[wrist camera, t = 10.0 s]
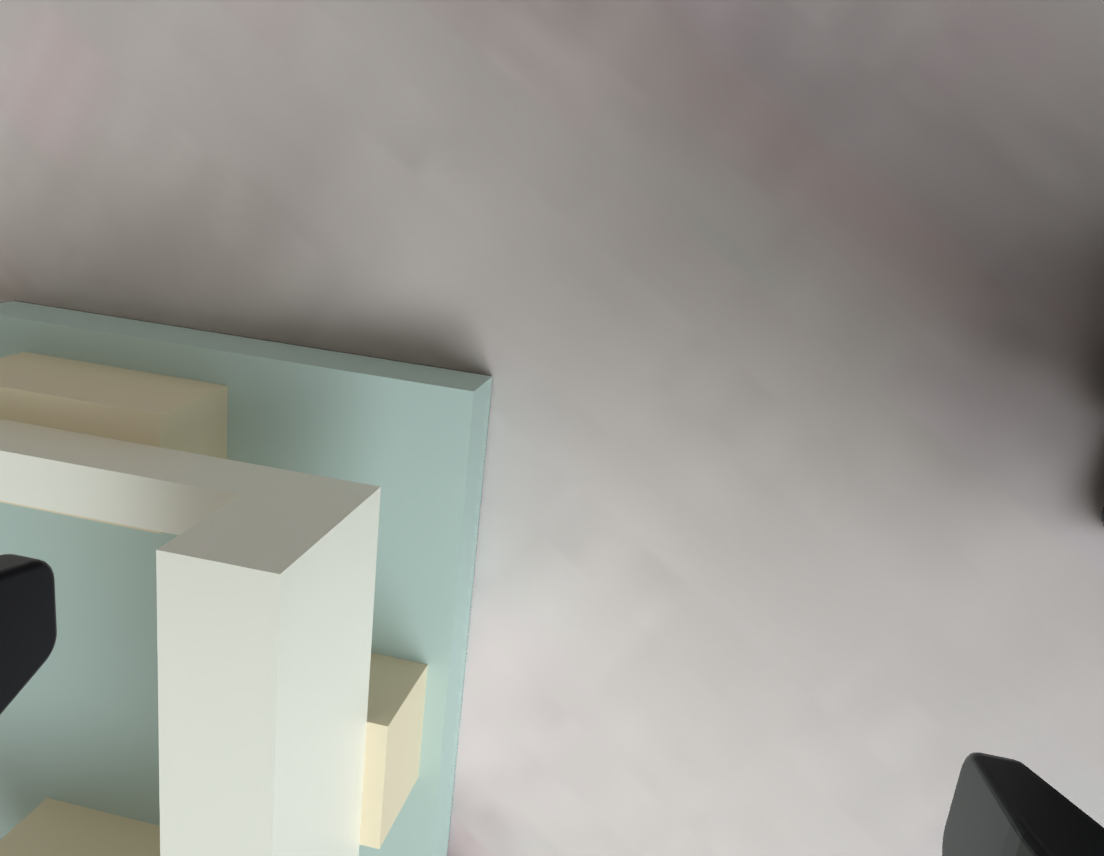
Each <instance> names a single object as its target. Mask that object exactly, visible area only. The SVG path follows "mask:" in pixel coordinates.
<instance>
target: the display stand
mask: <svg viewBox="0 0 1104 856" xmlns="http://www.w3.org/2000/svg"><path fill="white" fill-rule="evenodd" d="M492 378H493V376H487V375H481V374H475V373H468V372H462V371H456V370H449V369H443V368H437V367H430V366H424V365H418V364H411V363H405V362H398V361H392V360H386V359H379V358H373V357H367V356H360V355H354V354H348V353H341V352H335V351H329V350H322V349H316V348H310V347H303V346H297V345H291V344H284V343H278V342H271V341H265V340H259V339H252V338H246V337H240V336H233V335H227V334H221V333H214V332H208V331H202V330H195V329H189V328H183V327H176V326H170V325H164V324H157V323H151V322H145V321H138V320H132V319H125V318H119V317H113V316H106V315H100V314H94V313H87V312H81V311H75V310H68V309H62V308H56V307H49V306H43V305H37V304H30V303H24V302H18V301H9V302H3V303H0V419H4V420H10V421H15V422H21V423H26V424H32V425H38V426H43V427H49V428H54V429H60V430H66V431H71V432H77V433H83V434H88V435H94V436H99V437H105V438H111V439H116V440H122V441H127V442H133V443H139V444H144V445H150V446H155V447H161V448H167V449H172V450H178V451H184V452H189V453H195V454H200V455H206V456H212V457H217V458H223V459H228V460H234V461H240V462H245V463H251V464H256V465H262V466H268V467H273V468H279V469H285V470H290V471H296V472H301V473H307V474H313V475H318V476H324V477H329V478H335V479H341V480H346V481H352V482H358V483H363V484H369V485H374V486H380V487H381V494H380V511H379V527H378V544H377V561H376V577H375V594H374V610H373V627H372V644H371V660H370V677H369V694H368V710H367V727H366V743H365V760H364V777H363V793H362V810H361V826H360V843H359V856H447V850H448V839H449V829H450V818H451V808H452V797H453V787H454V776H455V766H456V755H457V745H458V734H459V724H460V713H461V703H462V692H463V682H464V671H465V661H466V650H467V640H468V629H469V619H470V609H471V598H472V588H473V577H474V567H475V556H476V546H477V535H478V525H479V514H480V504H481V493H482V483H483V472H484V462H485V451H486V441H487V430H488V420H489V409H490V399H491V388H492ZM177 536H178V535H175V534H169V533H164V532H159V531H154V530H149V529H144V528H138V527H133V526H128V525H123V524H118V523H113V522H108V521H102V520H97V519H92V518H87V517H82V516H77V515H71V514H66V513H61V512H56V511H51V510H46V509H40V508H35V507H30V506H25V505H20V504H15V503H10V502H4V501H0V555H4V554H15V555H20V556H25V557H30V558H35V559H40V560H43V561H45V562H46V563H48V564H49V565H50V567H51V568H52V570H53V573H54V578H55V599H56V621H57V637H56V642H55V645H54V648H53V650H52V652H51V654H50V656H49V658H48V659H47V660H46V662H45V663H44V664H43V665H42V666H41V667H40V669H39V670H38V671H37V672H36V673H35V675H34V676H33V677H32V678H31V679H30V680H29V682H28V683H27V684H26V685H25V686H24V688H23V689H22V690H21V691H20V692H19V693H18V695H17V696H16V697H15V698H14V699H13V701H12V702H11V703H10V704H9V705H8V706H7V708H6V709H5V710H4V711H3V712H2V714H1V715H0V837H1V840H0V856H160V802H159V727H158V653H157V578H156V550H157V549H158V548H160V547H161V546H163V545H164V544H166V543H167V542H169V541H171V540H172V539H174V538H175V537H177Z"/></svg>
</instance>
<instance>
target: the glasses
mask: <svg viewBox="0 0 1104 856" xmlns="http://www.w3.org/2000/svg"><path fill="white" fill-rule="evenodd" d="M380 494H381V487H380V486H374V485H369V484H363V483H358V482H352V481H346V480H341V479H335V478H329V477H324V476H318V475H313V474H307V473H301V472H296V471H290V470H285V469H279V468H273V467H268V466H262V465H256V464H251V463H245V462H240V461H234V460H228V459H223V458H217V457H212V456H206V455H200V454H195V453H189V452H184V451H178V450H172V449H167V448H161V447H155V446H150V445H144V444H139V443H133V442H127V441H122V440H116V439H111V438H105V437H99V436H94V435H88V434H83V433H77V432H71V431H66V430H60V429H54V428H49V427H43V426H38V425H32V424H26V423H21V422H15V421H10V420H4V419H0V501H4V502H10V503H15V504H20V505H25V506H30V507H35V508H40V509H46V510H51V511H56V512H61V513H66V514H71V515H77V516H82V517H87V518H92V519H97V520H102V521H108V522H113V523H118V524H123V525H128V526H133V527H138V528H144V529H149V530H154V531H159V532H164V533H169V534H175V535H178V536H177V537H175V538H174V539H172V540H171V541H169V542H167V543H166V544H164V545H163V546H161V547H160V548H158V549H157V550H156V578H157V653H158V727H159V802H160V856H359V843H360V826H361V810H362V793H363V777H364V760H365V743H366V727H367V710H368V694H369V677H370V660H371V644H372V627H373V610H374V594H375V577H376V561H377V544H378V527H379V511H380Z"/></svg>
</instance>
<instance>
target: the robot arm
mask: <svg viewBox="0 0 1104 856" xmlns="http://www.w3.org/2000/svg"><path fill="white" fill-rule="evenodd" d="M1102 523H1103V525H1104V508H1103V511H1102ZM56 637H57V621H56V599H55V578H54V573H53V570H52V568H51V567H50V565H49V564H48V563H46V562H45V561H43V560H40V559H35V558H30V557H25V556H20V555H15V554H4V555H0V715H1V714H2V712H3V711H4V710H5V709H6V708H7V706H8V705H9V704H10V703H11V702H12V701H13V699H14V698H15V697H16V696H17V695H18V693H19V692H20V691H21V690H22V689H23V688H24V686H25V685H26V684H27V683H28V682H29V680H30V679H31V678H32V677H33V676H34V675H35V673H36V672H37V671H38V670H39V669H40V667H41V666H42V665H43V664H44V663H45V662H46V660H47V659H48V658H49V656H50V654H51V652H52V650H53V648H54V645H55V642H56ZM942 856H1104V828H1103V827H1102V826H1101V825H1099V824H1098V823H1097V822H1096V821H1094V820H1093V819H1092V818H1091V817H1089V816H1088V815H1087V814H1086V813H1084V812H1083V811H1082V810H1081V809H1079V808H1078V807H1077V806H1075V805H1074V804H1073V803H1072V802H1070V801H1069V800H1068V799H1067V798H1065V797H1064V796H1063V795H1062V794H1060V793H1059V792H1058V791H1057V790H1055V789H1054V788H1053V787H1052V786H1050V785H1049V784H1048V783H1047V782H1045V781H1044V780H1043V779H1042V778H1040V777H1039V776H1038V775H1036V774H1035V773H1034V772H1033V771H1031V770H1030V769H1029V768H1028V767H1026V766H1025V765H1024V764H1022V763H1021V762H1019V761H1016V760H1013V759H1009V758H1004V757H999V756H994V755H989V754H984V753H972V754H970V755H969V756H968V757H967V758H966V759H965V761H964V763H963V765H962V768H961V771H960V775H959V779H958V782H957V786H956V789H955V793H954V797H953V800H952V804H951V807H950V811H949V815H948V818H947V822H946V825H945V830H944V835H943V846H942Z"/></svg>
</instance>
